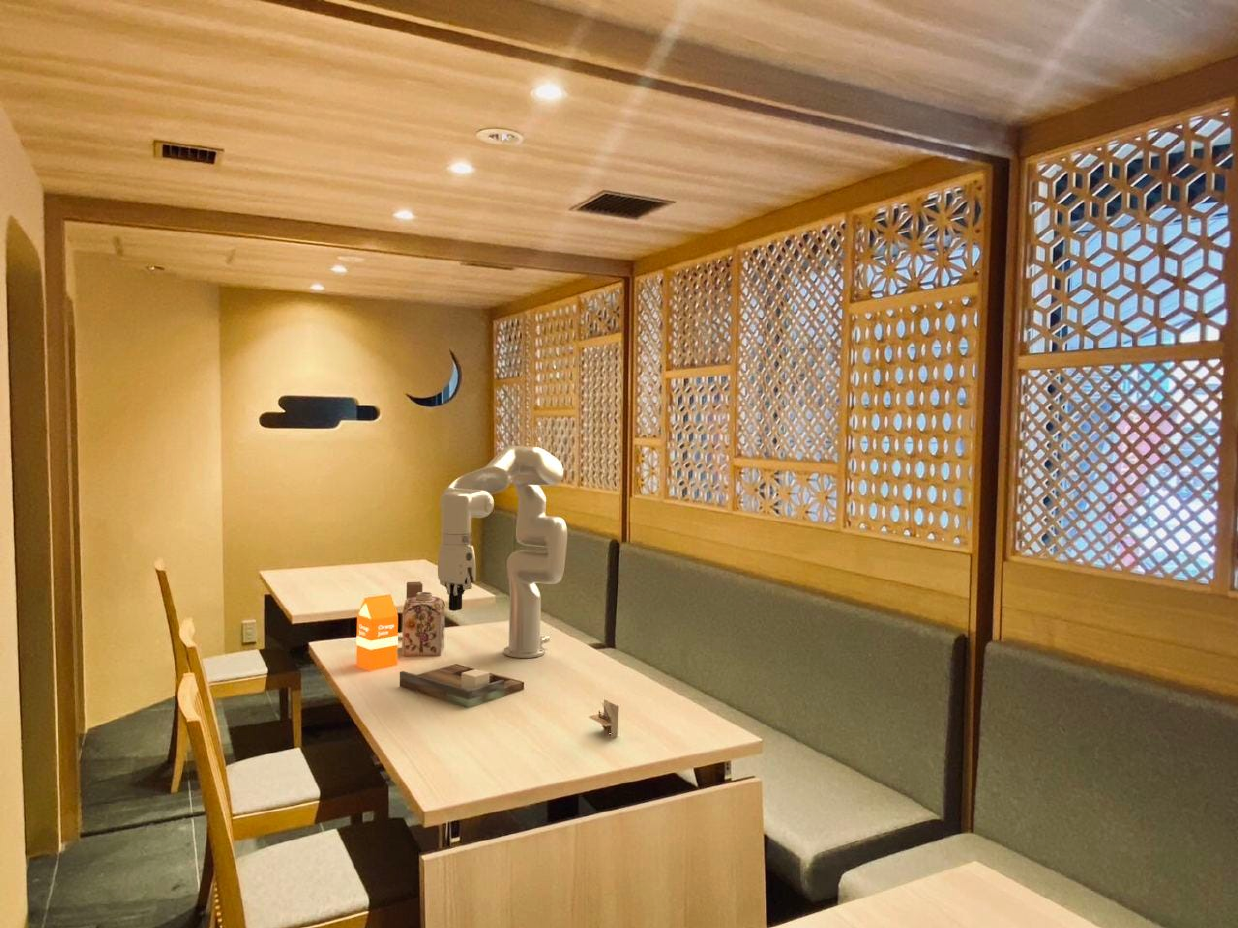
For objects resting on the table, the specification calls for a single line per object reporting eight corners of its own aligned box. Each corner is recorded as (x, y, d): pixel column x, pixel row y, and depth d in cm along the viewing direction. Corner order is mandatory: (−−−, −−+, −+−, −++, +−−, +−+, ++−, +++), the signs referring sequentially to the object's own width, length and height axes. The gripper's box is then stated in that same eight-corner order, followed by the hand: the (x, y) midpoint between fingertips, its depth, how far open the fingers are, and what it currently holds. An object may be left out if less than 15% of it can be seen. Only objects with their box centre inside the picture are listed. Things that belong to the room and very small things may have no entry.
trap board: (456, 670, 248) (456, 656, 248) (524, 689, 233) (524, 674, 233) (399, 686, 232) (399, 671, 232) (468, 707, 217) (468, 691, 217)
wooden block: (433, 634, 289) (434, 580, 289) (435, 638, 285) (436, 583, 284) (405, 636, 286) (406, 581, 285) (407, 639, 282) (408, 584, 281)
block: (475, 686, 228) (475, 668, 228) (489, 689, 225) (489, 672, 225) (461, 690, 224) (461, 672, 224) (474, 694, 221) (475, 676, 221)
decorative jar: (406, 646, 274) (407, 589, 273) (444, 646, 275) (445, 589, 274) (401, 656, 262) (402, 596, 261) (441, 656, 263) (442, 596, 262)
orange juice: (397, 665, 253) (398, 596, 252) (370, 671, 246) (371, 600, 245) (382, 659, 258) (383, 592, 257) (355, 665, 252) (356, 595, 251)
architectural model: (605, 741, 198) (606, 708, 198) (588, 731, 204) (589, 700, 203) (618, 738, 200) (619, 705, 200) (600, 729, 206) (601, 697, 205)
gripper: (487, 541, 227) (486, 611, 228) (447, 535, 236) (446, 603, 237) (465, 544, 221) (464, 616, 222) (425, 538, 230) (425, 607, 231)
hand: (455, 609), depth 230 cm, fingers closed
